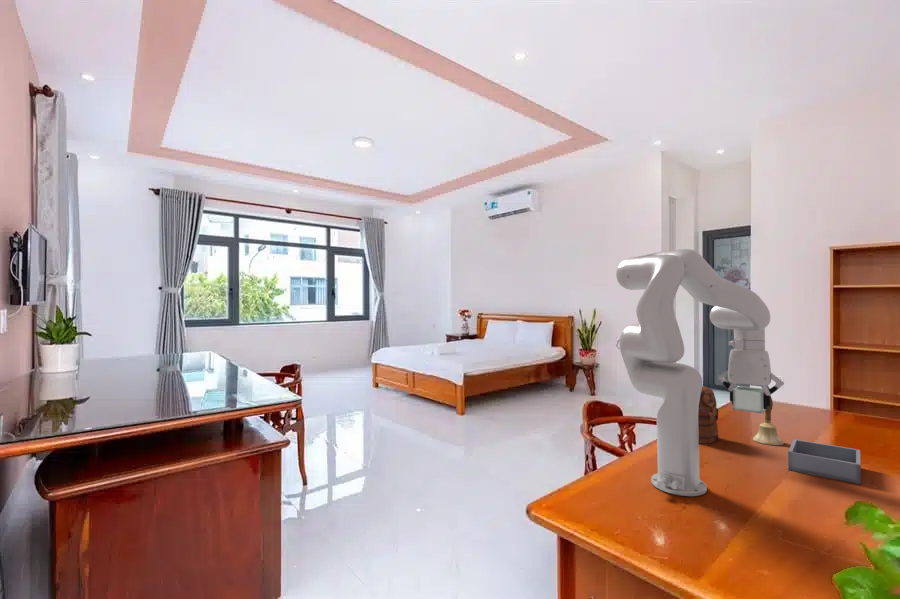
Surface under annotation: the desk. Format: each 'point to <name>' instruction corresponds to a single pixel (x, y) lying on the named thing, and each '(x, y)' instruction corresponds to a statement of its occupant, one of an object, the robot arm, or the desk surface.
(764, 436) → the hand bell
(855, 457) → the box
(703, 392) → the wooden figurine
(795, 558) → the desk surface
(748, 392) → the small crate
